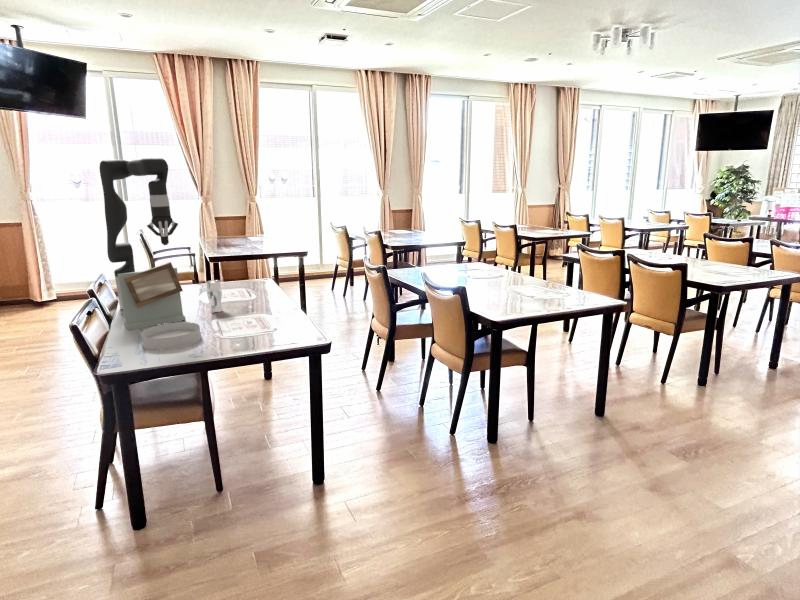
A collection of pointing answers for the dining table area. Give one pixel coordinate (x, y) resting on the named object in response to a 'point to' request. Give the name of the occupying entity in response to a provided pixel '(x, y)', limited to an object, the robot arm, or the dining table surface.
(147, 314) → the board
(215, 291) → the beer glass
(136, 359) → the dining table surface
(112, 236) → the robot arm
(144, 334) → the dish
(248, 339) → the dining table surface
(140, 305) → the frame
